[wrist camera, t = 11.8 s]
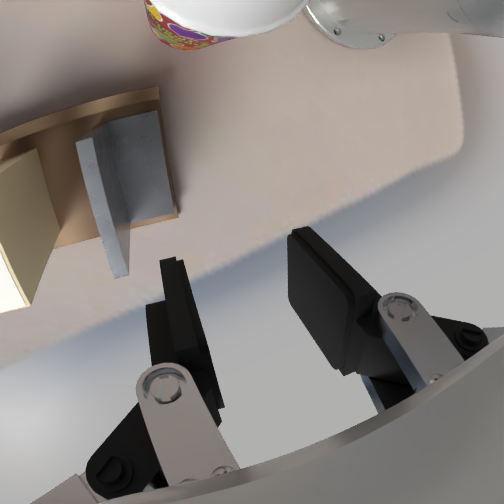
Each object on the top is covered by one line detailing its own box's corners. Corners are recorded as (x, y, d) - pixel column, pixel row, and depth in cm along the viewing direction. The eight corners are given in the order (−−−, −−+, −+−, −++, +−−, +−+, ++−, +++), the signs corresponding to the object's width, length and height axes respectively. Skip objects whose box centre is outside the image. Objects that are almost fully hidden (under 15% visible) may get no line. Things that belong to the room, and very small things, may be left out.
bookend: (157, 109, 23) (163, 120, 16) (173, 209, 28) (188, 261, 20) (97, 123, 22) (75, 142, 15) (120, 222, 27) (114, 278, 19)
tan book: (36, 147, 21) (-20, 188, 12) (60, 230, 25) (30, 306, 16) (0, 161, 20) (-64, 209, 11) (26, 241, 24) (-13, 316, 15)
